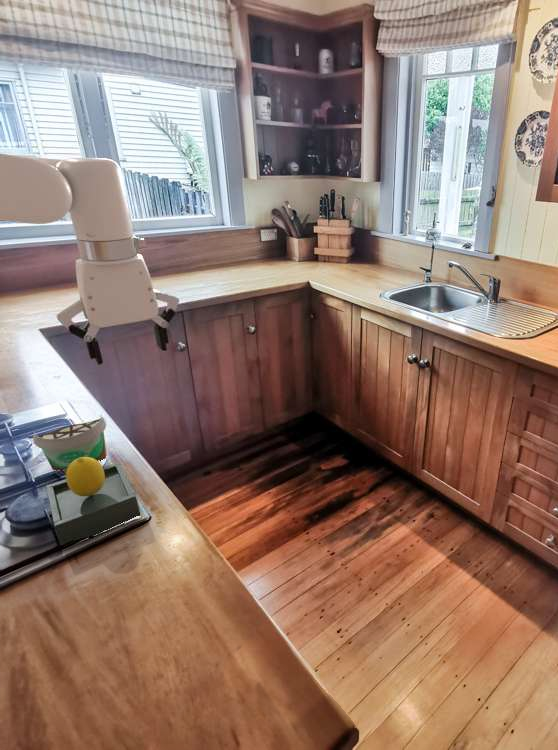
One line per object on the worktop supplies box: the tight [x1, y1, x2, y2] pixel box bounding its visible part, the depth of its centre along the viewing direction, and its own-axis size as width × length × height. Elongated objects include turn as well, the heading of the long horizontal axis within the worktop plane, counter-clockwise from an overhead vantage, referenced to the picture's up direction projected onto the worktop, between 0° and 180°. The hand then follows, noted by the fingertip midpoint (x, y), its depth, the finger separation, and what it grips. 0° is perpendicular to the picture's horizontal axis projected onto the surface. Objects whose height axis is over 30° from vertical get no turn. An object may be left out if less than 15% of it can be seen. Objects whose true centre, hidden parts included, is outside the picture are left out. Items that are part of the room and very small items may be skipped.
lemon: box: [66, 457, 105, 496], centre depth 79 cm, size 6×6×8 cm
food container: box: [32, 414, 108, 474], centre depth 91 cm, size 12×6×10 cm, turn 127°
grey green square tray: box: [45, 461, 142, 545], centre depth 82 cm, size 12×12×5 cm
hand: (131, 354), depth 77 cm, fingers open, 9 cm apart
